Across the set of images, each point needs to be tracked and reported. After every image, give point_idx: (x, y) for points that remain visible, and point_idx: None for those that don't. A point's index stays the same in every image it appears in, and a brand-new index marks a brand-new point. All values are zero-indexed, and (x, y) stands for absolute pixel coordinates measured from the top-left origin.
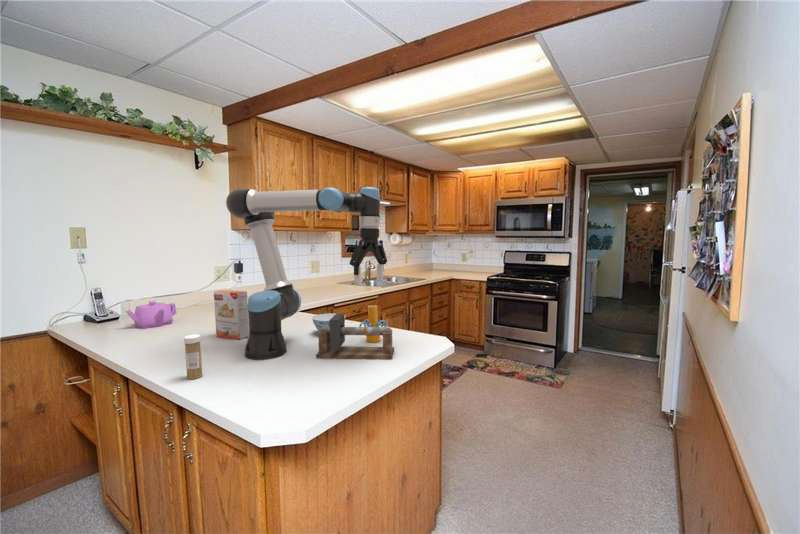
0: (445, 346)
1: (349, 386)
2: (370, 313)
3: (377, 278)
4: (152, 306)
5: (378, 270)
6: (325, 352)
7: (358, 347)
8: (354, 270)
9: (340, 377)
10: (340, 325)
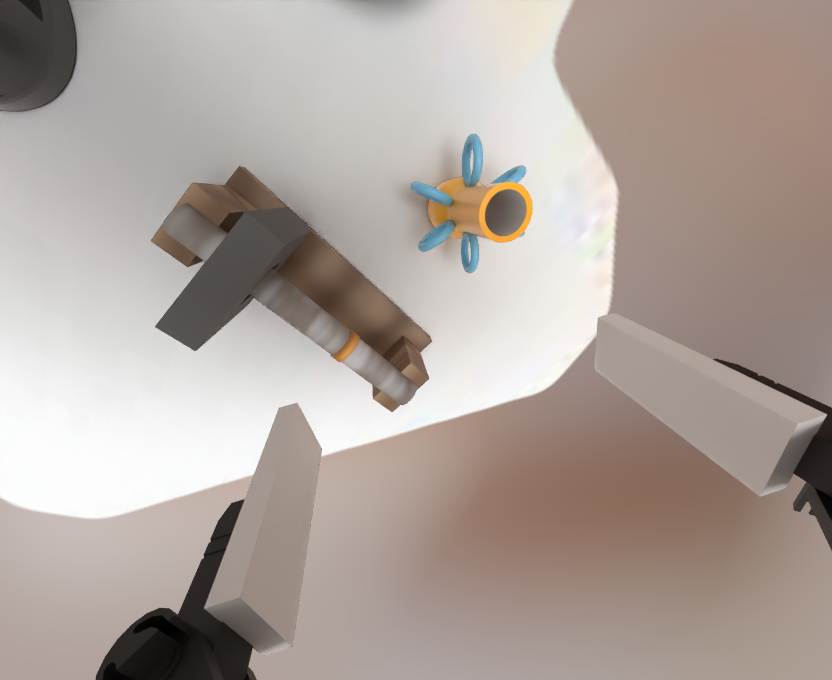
0: (542, 386)
1: (216, 448)
2: (468, 222)
3: (607, 332)
4: None
5: (682, 390)
6: None
7: (345, 276)
8: (207, 571)
9: (214, 404)
10: (243, 300)
